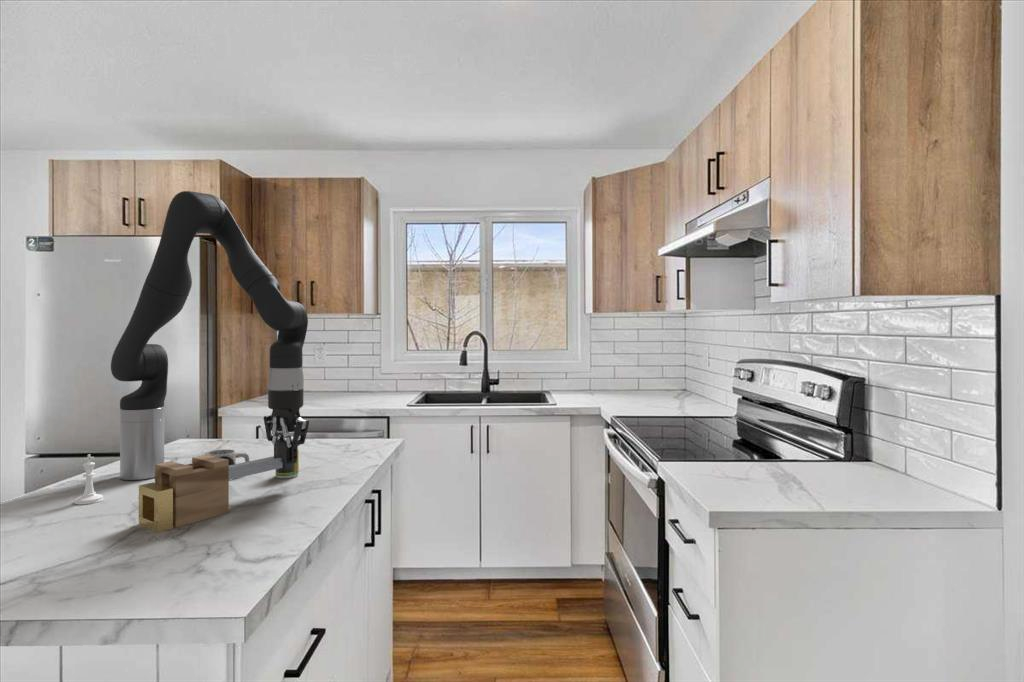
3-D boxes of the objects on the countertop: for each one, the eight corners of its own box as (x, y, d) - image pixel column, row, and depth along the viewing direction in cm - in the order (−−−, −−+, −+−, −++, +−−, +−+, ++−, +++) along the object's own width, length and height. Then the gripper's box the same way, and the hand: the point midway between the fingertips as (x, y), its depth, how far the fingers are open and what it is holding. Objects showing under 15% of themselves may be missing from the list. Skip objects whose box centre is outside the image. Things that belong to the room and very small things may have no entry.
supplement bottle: (290, 479, 134) (290, 440, 134) (270, 478, 136) (270, 439, 135) (302, 474, 140) (302, 436, 140) (284, 472, 141) (284, 435, 141)
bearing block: (154, 519, 105) (154, 464, 105) (206, 505, 114) (206, 454, 113) (176, 527, 101) (176, 470, 101) (228, 512, 109) (228, 459, 109)
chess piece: (105, 501, 116) (105, 454, 116) (76, 506, 113) (76, 458, 113) (100, 496, 120) (100, 451, 120) (72, 501, 116) (72, 454, 116)
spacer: (138, 524, 102) (138, 485, 102) (153, 520, 105) (153, 482, 104) (158, 532, 99) (158, 491, 98) (173, 528, 101) (172, 488, 101)
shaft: (175, 494, 106) (175, 458, 106) (287, 468, 128) (287, 438, 127) (186, 497, 104) (186, 461, 104) (298, 470, 125) (298, 440, 125)
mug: (207, 484, 130) (207, 456, 130) (202, 478, 135) (202, 451, 135) (252, 477, 136) (252, 451, 136) (246, 472, 142) (246, 446, 141)
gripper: (252, 386, 125) (252, 460, 125) (291, 390, 118) (290, 469, 118) (281, 384, 132) (280, 455, 132) (320, 387, 124) (319, 462, 124)
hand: (285, 461), depth 125 cm, fingers closed on shaft, 4 cm apart
